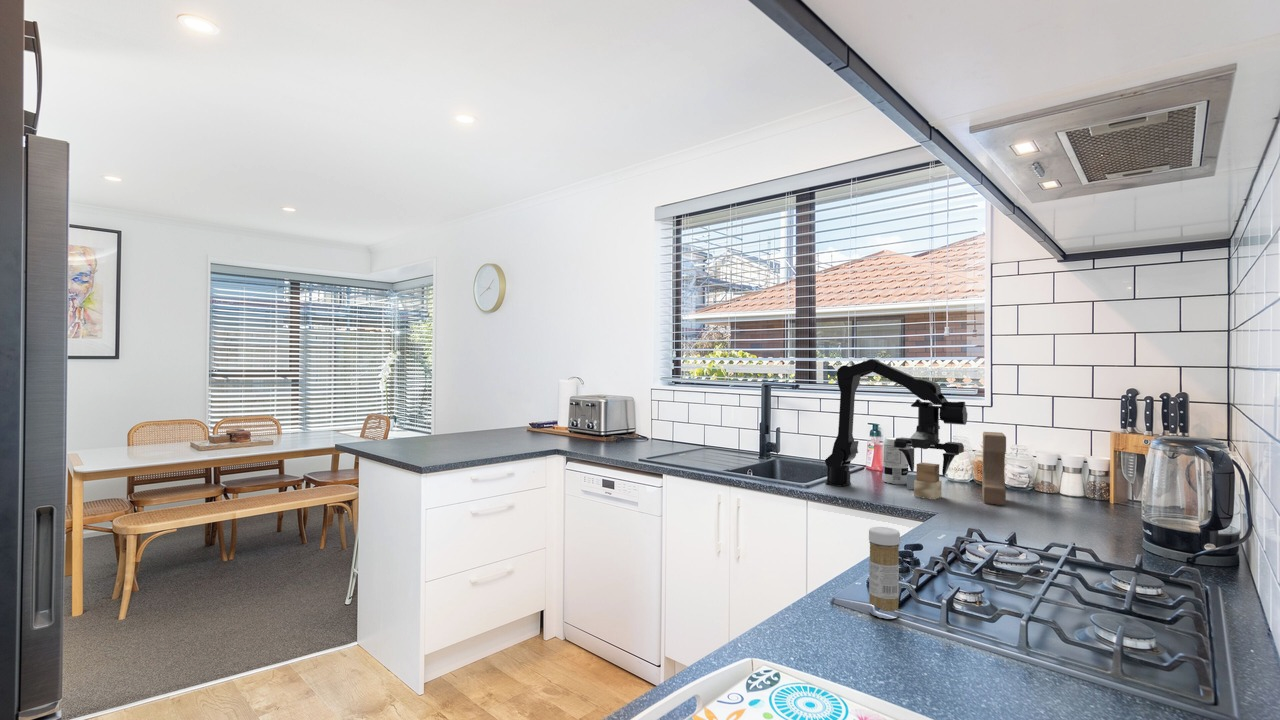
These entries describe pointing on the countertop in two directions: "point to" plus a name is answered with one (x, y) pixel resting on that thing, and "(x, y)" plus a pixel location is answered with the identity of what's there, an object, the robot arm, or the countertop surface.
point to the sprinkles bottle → (884, 568)
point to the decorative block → (994, 468)
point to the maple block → (927, 489)
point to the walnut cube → (927, 472)
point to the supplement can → (893, 463)
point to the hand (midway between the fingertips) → (927, 473)
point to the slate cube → (911, 479)
